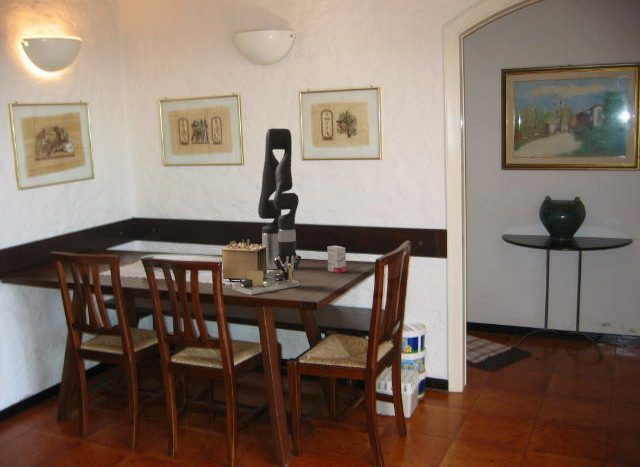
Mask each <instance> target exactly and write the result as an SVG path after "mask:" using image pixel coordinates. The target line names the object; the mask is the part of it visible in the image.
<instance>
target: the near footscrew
mask: <svg viewBox="0 0 640 467" xmlns="http://www.w3.org/2000/svg"><path fill="white" fill-rule="evenodd" d="M247 277H248V278H244V279H241V282H240V283H241V286H245V287H247V286H257V285H263V270H260V271H247Z"/></svg>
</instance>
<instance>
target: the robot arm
mask: <svg viewBox="0 0 640 467" xmlns="http://www.w3.org/2000/svg"><path fill="white" fill-rule="evenodd" d="M292 140H293V139H292V133H291V130H290V129H289V128H269V129H267V131H266V134H265V146H264V148H265V150H264V162H263V169H262V179H261V189H260V190H261V191H260V196H259V202H258V208H257V212H258V213H257V214H258V216H259V218H260V219H262V220H271V219H272V220H273V221H272V222H270V223H269V224H267V225H264V226H262V228H261V240H262V243H261V244H262V246H267V248H266V254H267V270H278V271H280V270H281V271H282V272H283V279H284V280H288V272H287V267H288V266H289V267H292V280H294V279H293V278H294V270H296V269H297V268H298V267H299V264H300V261H301V260H302V256H301V255H299V254H297V252H296V250H297V239H296V238H297V237H296V236H297V232H296V213H297V210H298V205H299V202H300V200H299V196H298V194H297V193H296V192H289V191H290V190H292V188H293V175H292V157H293V156H292V154H293V153H292V147H293V145H292V144H293V143H292ZM274 150H277V151H278V150H283V151H284V152H283V156H282V157H281V159H280V161H279V160H278V159H277V157H276V155H275V153H274V152H273V151H274ZM273 194H274V198H273V199H270V198H271V196H272V195H273ZM282 210H283V211H286V210H289V212H287V213H286V214H282Z"/></svg>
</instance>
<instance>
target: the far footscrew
mask: <svg viewBox="0 0 640 467" xmlns="http://www.w3.org/2000/svg"><path fill="white" fill-rule="evenodd" d="M287 272H288V280H284V279H283V272H282V271H281V270H279V272H275V273H274V277H275V280H284V281H288V282H290V281H292V280H293V279H292V267H289V266H288V267H287Z"/></svg>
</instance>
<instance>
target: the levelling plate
mask: <svg viewBox="0 0 640 467" xmlns="http://www.w3.org/2000/svg"><path fill="white" fill-rule="evenodd" d="M299 286H300V281H299V280H295V279H292V281H290V282H288V281H284V280H275V276H274V277H272V278H266V279H264V276H263V285H257V286H247V287H245V286H241V282H239V283H236V284H232V285H231V290H232V291H236V292H240V293H242V294H246V295H250V296H253V295H260V294H264V293H270V292H274V291H279V290H284V289H289V288H295V287H299Z"/></svg>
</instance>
